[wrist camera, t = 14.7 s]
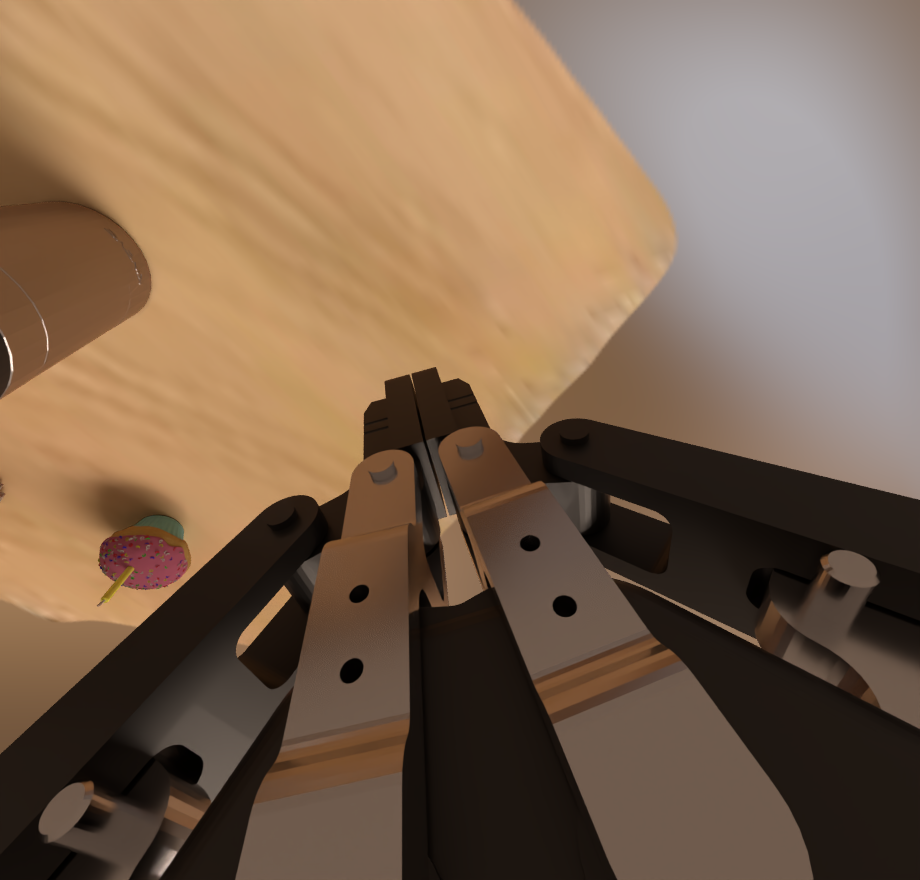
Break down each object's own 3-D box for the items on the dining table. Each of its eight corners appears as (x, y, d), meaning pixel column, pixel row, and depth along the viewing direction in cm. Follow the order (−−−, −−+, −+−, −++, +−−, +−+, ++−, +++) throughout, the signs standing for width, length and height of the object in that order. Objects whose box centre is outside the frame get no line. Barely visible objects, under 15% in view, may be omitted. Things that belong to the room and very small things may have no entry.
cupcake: (103, 514, 47) (33, 606, 37) (176, 493, 47) (126, 579, 38) (150, 561, 52) (100, 653, 42) (216, 542, 52) (182, 629, 42)
